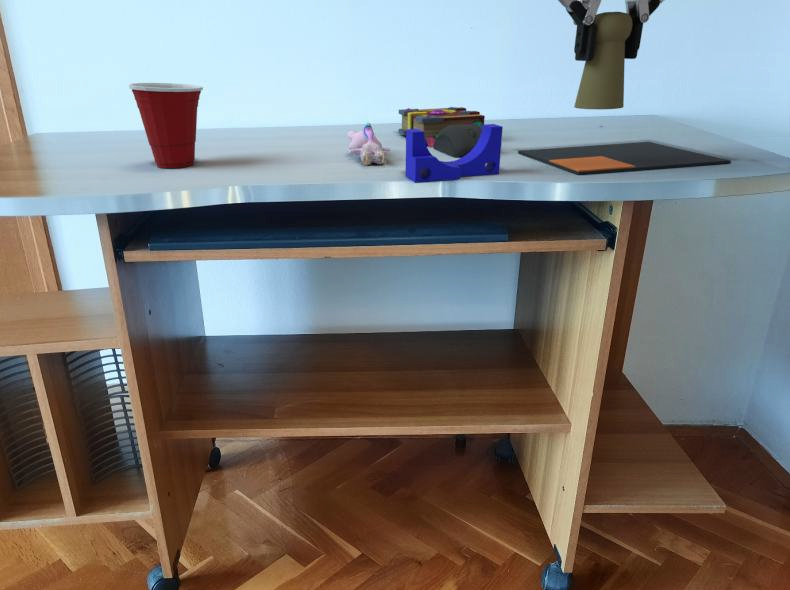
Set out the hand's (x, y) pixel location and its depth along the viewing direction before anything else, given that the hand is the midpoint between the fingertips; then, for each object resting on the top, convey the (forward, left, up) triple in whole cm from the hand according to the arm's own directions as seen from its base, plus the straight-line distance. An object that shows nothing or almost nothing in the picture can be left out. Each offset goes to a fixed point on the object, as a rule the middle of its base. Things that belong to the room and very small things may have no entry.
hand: (605, 57), depth 81 cm
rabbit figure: (+27, -18, -14) cm, 35 cm away
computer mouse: (+11, -19, -14) cm, 26 cm away
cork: (0, 0, -6) cm, 6 cm away
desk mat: (-7, -5, -14) cm, 16 cm away
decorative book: (+10, -33, -14) cm, 37 cm away
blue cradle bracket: (+19, -1, -14) cm, 23 cm away
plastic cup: (+56, -24, -14) cm, 62 cm away
